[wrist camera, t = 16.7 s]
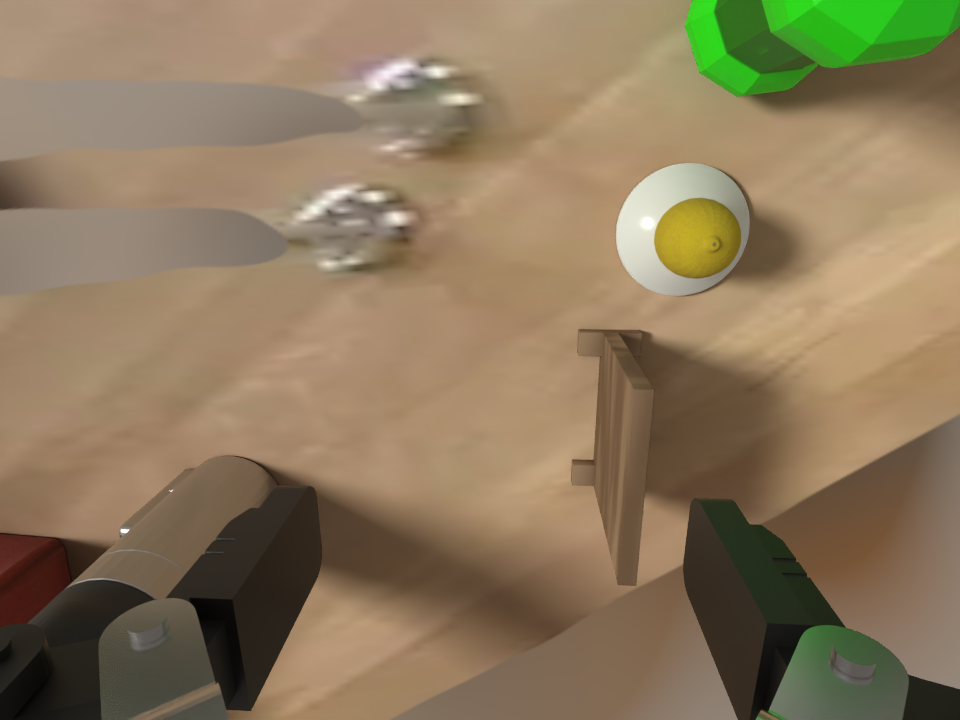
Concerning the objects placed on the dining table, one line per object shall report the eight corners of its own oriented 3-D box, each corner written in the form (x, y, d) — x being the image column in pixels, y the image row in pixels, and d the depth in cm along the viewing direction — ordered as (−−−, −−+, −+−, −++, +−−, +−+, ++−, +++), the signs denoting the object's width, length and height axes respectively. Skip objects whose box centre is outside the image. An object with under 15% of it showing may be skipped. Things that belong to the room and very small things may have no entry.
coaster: (611, 294, 47) (612, 295, 46) (619, 163, 44) (621, 163, 43) (737, 294, 46) (740, 296, 46) (755, 162, 43) (758, 162, 43)
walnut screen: (571, 479, 52) (589, 583, 39) (578, 329, 48) (601, 388, 35) (627, 481, 52) (665, 586, 38) (639, 330, 48) (687, 390, 34)
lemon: (720, 261, 45) (761, 279, 37) (648, 275, 46) (674, 294, 38) (715, 189, 43) (756, 191, 36) (640, 204, 44) (665, 209, 36)
